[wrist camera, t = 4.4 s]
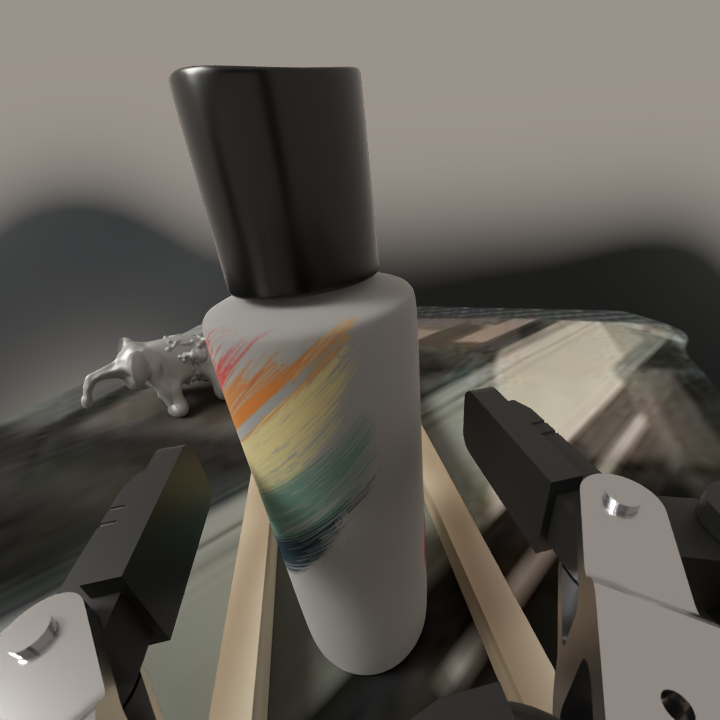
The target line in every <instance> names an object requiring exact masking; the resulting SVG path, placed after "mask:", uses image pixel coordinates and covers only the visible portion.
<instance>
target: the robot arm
mask: <svg viewBox="0 0 720 720" xmlns="http://www.w3.org/2000/svg"><path fill="white" fill-rule="evenodd" d="M463 435H464V440H465V444H466V447H467V449H468V451H469V453H470V454H471V456H472V457H473V459H474V461H475V462H476V464H477V465H478V467H479V468H480V470H481V471H482V473H483V474H484V476H485V477H486V479H487V480H488V482H489V483H490V485H491V486H492V488H493V489H494V491H495V492H496V494H497V495H498V497H499V498H500V500H501V501H502V503H503V504H504V506H505V507H506V509H507V510H508V512H509V513H510V515H511V516H512V518H513V519H514V521H515V522H516V524H517V526H518V527H519V529H520V530H521V532H522V533H523V535H524V536H525V538H526V539H527V541H528V542H529V544H530V545H531V547H532V548H533V550H534V551H535V553H539V552H543V551H547V550H551V549H553V550H554V552H555V553H556V555H557V556H558V557H559V559H560V561H559V566H558V652H557V664H556V671H555V678H554V689H553V714H550V713H547V712H545V711H543V710H540V709H538V708H535V707H533V706H530V705H526V704H522V703H518V702H513V701H508V700H507V698H506V696H505V693H504V691H503V688H502V686H501V683H500V681H499V682H495V683H491V684H488V685H484V686H481V687H477V688H473V689H470V690H466V691H463V692H459V693H455V694H452V695H448V696H445V697H441V698H439V699H437V700H436V701H434V702H433V703H432V704H430V705H429V706H428V707H426V708H425V709H424V710H422V711H421V712H419V713H418V714H417V715H415V716H414V717H413V718H411V719H410V720H720V481H715V482H712V483H710V484H709V485H708V486H707V487H706V489H705V491H704V492H703V494H702V496H701V498H700V499H697V498H682V497H667V496H655V495H654V494H653V493H652V492H651V491H649V490H648V489H646V488H645V487H643V486H642V485H640V484H638V483H636V482H634V481H632V480H630V479H627V478H625V477H621V476H618V475H613V474H604V473H601V472H600V471H599V470H598V469H597V468H595V467H594V466H593V465H592V464H591V463H590V462H589V461H588V460H587V459H586V458H585V457H583V456H582V455H581V454H580V453H579V452H578V451H577V450H576V449H575V448H574V447H572V446H571V445H570V444H569V443H568V442H567V441H566V440H565V439H564V438H563V437H562V436H560V435H559V434H558V433H555V430H554V429H553V428H552V427H551V426H550V425H548V424H547V423H545V422H544V420H543V419H542V418H541V417H540V416H539V415H538V414H536V413H535V412H534V411H533V410H532V409H531V408H529V407H527V406H525V405H523V404H521V403H519V402H517V401H515V400H511V401H507V400H506V399H505V398H504V397H503V396H502V395H501V394H500V393H499V392H498V391H497V390H496V389H495V388H493V387H488V388H483V389H478V390H472V391H468V392H466V394H465V401H464V426H463ZM210 503H211V489H210V484H209V482H208V479H207V477H206V475H205V473H204V470H203V468H202V466H201V464H200V462H199V459H198V457H197V455H196V453H195V451H194V449H193V447H192V446H191V445H190V444H185V445H179V446H174V447H169V448H164V449H159V450H157V451H156V453H155V454H154V456H153V458H152V459H151V461H150V463H149V464H148V466H147V468H146V470H145V471H143V472H139V473H138V474H137V475H136V476H135V477H134V478H133V479H131V480H130V481H129V482H128V483H127V484H126V485H125V486H124V487H123V488H122V489H121V491H120V492H119V494H118V495H117V497H116V499H115V500H114V502H113V503H112V505H111V507H110V511H108V512H107V513H106V515H105V516H104V518H103V520H102V521H101V523H100V524H101V526H100V527H98V528H97V529H96V531H95V533H94V534H93V536H92V537H91V539H90V541H89V542H88V544H87V546H86V547H85V549H84V550H83V552H82V554H81V555H80V557H79V559H78V560H77V562H76V563H75V565H74V567H73V568H72V570H71V572H70V573H69V575H68V576H67V578H66V580H65V581H64V583H63V584H62V586H61V588H60V589H59V591H58V592H57V594H56V595H54V596H51V597H49V598H47V599H45V600H43V601H41V602H39V603H37V604H36V605H34V606H32V607H31V608H30V609H28V610H27V611H25V612H24V613H23V614H21V615H20V616H19V617H18V618H17V619H15V620H14V621H13V622H12V623H11V624H10V625H9V626H8V627H7V628H6V629H5V630H4V631H3V632H2V633H1V634H0V720H163V717H162V714H161V711H160V709H159V706H158V703H157V700H156V697H155V694H154V691H153V688H152V685H151V682H150V680H149V677H148V674H147V671H146V669H145V667H144V665H143V664H142V663H143V660H144V657H145V654H146V651H147V648H148V645H152V644H156V643H160V642H164V641H168V640H170V639H171V636H172V632H173V629H174V626H175V622H176V619H177V615H178V612H179V609H180V605H181V602H182V599H183V595H184V592H185V588H186V585H187V582H188V578H189V575H190V572H191V568H192V565H193V561H194V558H195V555H196V551H197V548H198V545H199V541H200V538H201V534H202V531H203V528H204V524H205V521H206V518H207V514H208V511H209V507H210Z"/></svg>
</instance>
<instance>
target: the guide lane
mask: <svg viewBox="0 0 720 720" xmlns="http://www.w3.org/2000/svg"><path fill="white" fill-rule="evenodd" d="M421 433H422V461H423V489H424V502H425V504H426V506H427V509H428V511H429V514H430V516H431V519H432V521H433V523H434V526H435V528H436V531H437V533H438V536H439V538H440V540H441V543H442V545H443V548H444V550H445V552H446V555H447V557H448V560H449V562H450V565H451V567H452V569H453V572H454V574H455V577H456V579H457V582H458V584H459V586H460V589H461V591H462V594H463V596H464V598H465V601H466V603H467V606H468V608H469V611H470V613H471V615H472V618H473V620H474V623H475V625H476V628H477V630H478V632H479V635H480V637H481V640H482V642H483V644H484V647H485V649H486V652H487V654H488V657H489V659H490V661H491V664H492V666H493V669H494V671H495V673H496V676H497V678H498V681H500V683H501V686H502V688H503V691H504V693H505V696H506V698H507V700H508V701H513V702H518V703H522V704H526V705H530V706H533V707H535V708H538V709H540V710H543V711H545V712H547V713H550V714H553V689H554V678H555V670H554V668H553V666H552V664H551V663H550V661H549V659H548V657H547V655H546V653H545V652H544V650H543V648H542V646H541V644H540V642H539V640H538V639H537V637H536V635H535V633H534V631H533V629H532V628H531V626H530V624H529V622H528V620H527V618H526V616H525V615H524V613H523V611H522V609H521V607H520V605H519V604H518V602H517V600H516V598H515V596H514V594H513V592H512V591H511V589H510V587H509V585H508V583H507V581H506V580H505V578H504V576H503V574H502V572H501V570H500V568H499V567H498V565H497V563H496V561H495V559H494V557H493V556H492V554H491V552H490V550H489V548H488V546H487V544H486V543H485V541H484V539H483V537H482V535H481V533H480V531H479V530H478V528H477V526H476V524H475V522H474V520H473V519H472V517H471V515H470V513H469V511H468V509H467V507H466V506H465V504H464V502H463V500H462V498H461V496H460V495H459V493H458V491H457V489H456V487H455V485H454V483H453V482H452V480H451V478H450V476H449V474H448V472H447V471H446V469H445V467H444V465H443V463H442V461H441V459H440V458H439V456H438V454H437V452H436V450H435V448H434V447H433V445H432V443H431V441H430V439H429V437H428V435H427V434H426V432H425V430H424V428H423V426H422V424H421ZM277 552H278V543H277V540H276V538H275V535H274V532H273V529H272V527H271V524H270V521H269V518H268V516H267V513H266V510H265V507H264V505H263V502H262V499H261V496H260V494H259V491H258V488H257V485H256V483H255V480H254V477H253V474H252V473H251V478H250V484H249V490H248V496H247V501H246V507H245V513H244V518H243V524H242V530H241V536H240V541H239V547H238V553H237V558H236V564H235V570H234V576H233V581H232V587H231V593H230V599H229V604H228V610H227V616H226V621H225V627H224V633H223V639H222V644H221V650H220V656H219V661H218V667H217V673H216V679H215V684H214V690H213V696H212V701H211V707H210V713H209V719H208V720H267V713H268V697H269V681H270V665H271V648H272V632H273V616H274V600H275V584H276V568H277Z"/></svg>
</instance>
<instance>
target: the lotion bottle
mask: <svg viewBox="0 0 720 720" xmlns="http://www.w3.org/2000/svg"><path fill="white" fill-rule="evenodd" d="M169 83H170V88H171V92H172V95H173V99H174V103H175V106H176V110H177V113H178V117H179V120H180V124H181V127H182V131H183V134H184V138H185V141H186V145H187V148H188V152H189V155H190V159H191V162H192V165H193V169H194V173H195V176H196V180H197V183H198V187H199V190H200V194H201V197H202V201H203V204H204V208H205V211H206V215H207V218H208V222H209V225H210V229H211V232H212V236H213V239H214V242H215V246H216V250H217V253H218V257H219V260H220V264H221V267H222V271H223V274H224V277H225V281H226V284H227V287H228V290H229V292H230V294H231V295H232V296H230V297H228V298H227V299H225V300H223V301H221V302H220V303H218V304H217V305H215V306H214V307H213V308H211V309H210V310H209V311H208V312H207V314H206V315H205V318H204V320H203V323H202V329H203V335H204V338H205V341H206V345H207V348H208V351H209V354H210V357H211V360H212V363H213V366H214V369H215V372H216V374H217V377H218V380H219V383H220V386H221V389H222V391H223V394H224V397H225V400H226V403H227V405H228V408H229V411H230V414H231V416H232V419H233V422H234V425H235V427H236V430H237V433H238V436H239V439H240V441H241V444H242V447H243V450H244V452H245V455H246V458H247V461H248V463H249V466H250V469H251V472H252V474H253V477H254V480H255V483H256V485H257V488H258V491H259V494H260V496H261V499H262V502H263V505H264V507H265V510H266V513H267V516H268V518H269V521H270V524H271V527H272V529H273V532H274V535H275V538H276V540H277V543H278V546H279V549H280V551H281V554H282V557H283V560H284V562H285V565H286V568H287V571H288V573H289V576H290V579H291V582H292V585H293V587H294V590H295V593H296V596H297V598H298V601H299V604H300V607H301V609H302V612H303V615H304V617H305V620H306V623H307V625H308V628H309V630H310V632H311V635H312V637H313V639H314V641H315V643H316V644H317V646H318V648H319V649H320V651H321V652H322V653H323V655H324V656H325V657H326V658H327V659H328V660H329V661H331V662H332V663H333V664H334V665H336V666H337V667H339V668H340V669H342V670H344V671H347V672H350V673H353V674H358V675H374V674H379V673H382V672H385V671H387V670H389V669H391V668H393V667H394V666H396V665H398V664H399V663H400V662H401V661H403V660H404V659H405V658H406V657H407V656H408V654H409V653H410V652H411V651H412V649H413V648H414V646H415V645H416V643H417V641H418V639H419V637H420V634H421V632H422V629H423V626H424V622H425V617H426V608H427V573H426V545H425V517H424V489H423V461H422V433H421V405H420V377H419V351H418V329H417V311H416V300H415V295H414V291H413V289H412V287H411V286H410V285H409V283H407V282H406V281H405V280H404V279H401V278H399V277H396V276H393V275H389V274H384V273H378V270H379V260H378V259H379V258H378V248H377V236H376V227H375V216H374V205H373V195H372V185H371V173H370V163H369V152H368V142H367V131H366V122H365V111H364V100H363V90H362V81H361V74H360V70H359V69H358V68H356V67H318V68H317V67H314V68H313V67H312V68H311V67H309V68H299V67H297V68H296V67H291V68H290V67H254V66H216V65H215V66H192V67H185V68H181V69H178V70H176V71H174V72H173V73H172V74H171V75H170V77H169Z"/></svg>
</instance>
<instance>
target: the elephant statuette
mask: <svg viewBox="0 0 720 720" xmlns="http://www.w3.org/2000/svg"><path fill="white" fill-rule="evenodd" d="M118 351H119V354H118V355H117V358H116V360H115V361H114V362H112V363H110V364H108V365H107V366H105V367H103V368H101V369H99V370H97V371H95V372H93V373H91V374H89V375H88V376H87V377H86V378H85V381H84V385H83V396H82V398H81V404H82V406H83V407H84V408H86V409H89V408H91V406H92V405H93V398H92V390H93V388H94V386H95V384H96V383H97V382H99V381H100V380H104V379H110V378H119V379H122V380H124V382H125V383H126V385H127V387H128V388H129V389H132V390H141V389H147V388H150V387H152V388H153V389H154V390H155V391H156V392H157V394H158V397H159V398H160V399H162V400H163V401H164V403H165V404H166V405H167V406H168V412H169V414H170V415H172V416H175V417H183V416H185V415H186V414H187V413H188V411H189V405H188V402H187V401H186V400H185V398H184V396H183V392H182V385H183V384H184V383H185V384H187V385H189V384H190V381H192V382H195V381H196V380H198V381H200V380H208V381H210V382H211V383H212V385H213V388H214V393H215V395H216V396H217V397H218V398H219V399H222V400H225V397H224V394H223V391H222V389H221V386H220V383H219V380H218V377H217V374H216V372H215V369H214V366H213V363H212V360H211V357H210V354H209V351H208V348H207V345H206V341H205V338H204V335H202V334H197V335H196V336H189V335H182V334H178V335H174V336H172V335H171V336H169V337H167V336H164V338H163V339H160V340H156V341H151V342H133V341H132V340H130V339H129V338H121V339H120V340H119V343H118Z"/></svg>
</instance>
